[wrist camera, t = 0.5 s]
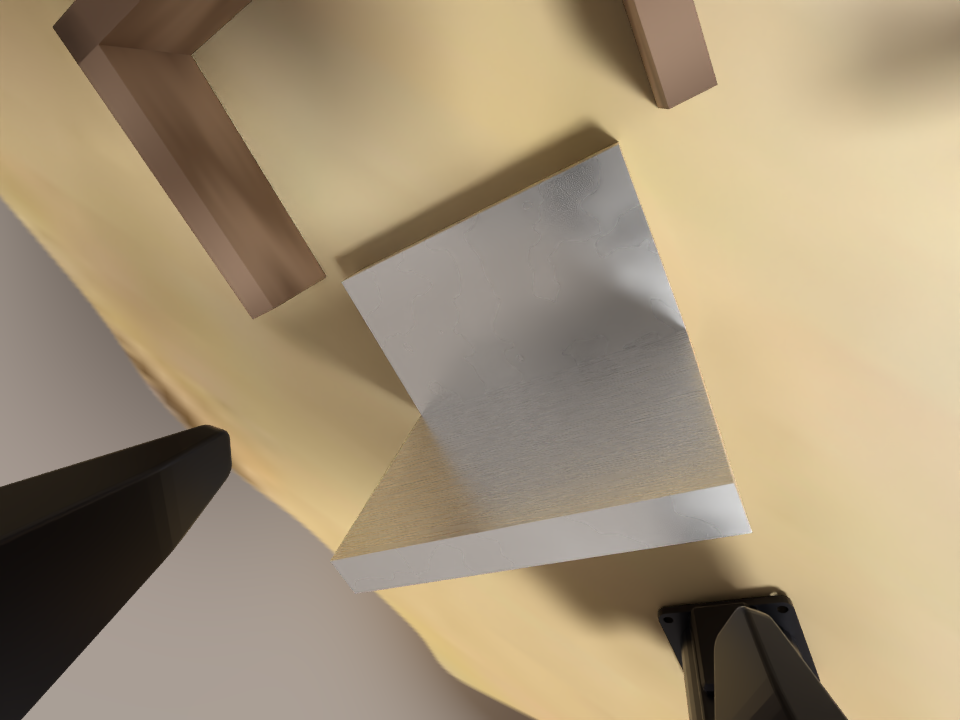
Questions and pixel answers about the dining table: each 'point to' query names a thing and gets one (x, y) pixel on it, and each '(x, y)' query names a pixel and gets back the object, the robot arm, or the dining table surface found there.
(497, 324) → the bracket
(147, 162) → the bay
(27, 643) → the robot arm
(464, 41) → the dining table surface
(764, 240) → the dining table surface
